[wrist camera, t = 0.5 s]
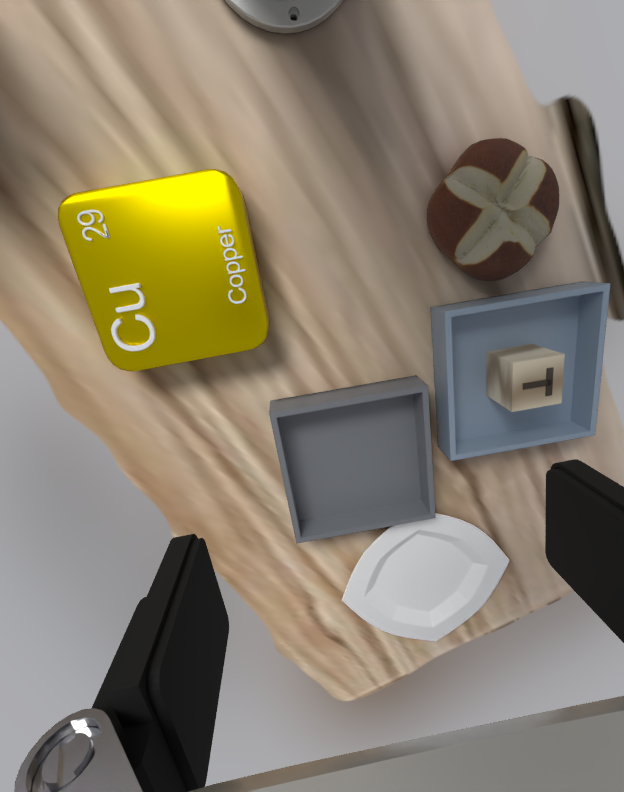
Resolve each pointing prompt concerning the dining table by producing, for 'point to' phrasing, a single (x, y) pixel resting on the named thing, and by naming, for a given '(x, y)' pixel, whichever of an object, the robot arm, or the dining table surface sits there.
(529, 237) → the bread
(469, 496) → the dining table surface
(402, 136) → the dining table surface
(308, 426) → the charcoal bin
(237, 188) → the element tile
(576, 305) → the slate bin
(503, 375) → the letter cube
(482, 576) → the plate
